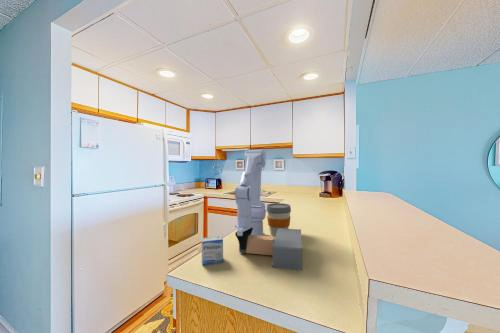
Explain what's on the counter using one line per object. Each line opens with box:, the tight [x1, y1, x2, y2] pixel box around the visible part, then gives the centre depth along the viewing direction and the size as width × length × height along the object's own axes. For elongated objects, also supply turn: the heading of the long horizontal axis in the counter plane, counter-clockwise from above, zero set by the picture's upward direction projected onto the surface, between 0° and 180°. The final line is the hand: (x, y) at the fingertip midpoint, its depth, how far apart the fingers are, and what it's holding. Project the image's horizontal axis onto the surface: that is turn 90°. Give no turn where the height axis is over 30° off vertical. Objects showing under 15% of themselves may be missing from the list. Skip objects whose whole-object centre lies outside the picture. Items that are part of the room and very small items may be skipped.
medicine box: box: [200, 235, 224, 266], centre depth 76 cm, size 8×4×9 cm, turn 105°
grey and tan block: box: [238, 235, 275, 256], centre depth 83 cm, size 4×14×6 cm, turn 77°
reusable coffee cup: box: [266, 202, 292, 238], centre depth 104 cm, size 13×13×15 cm
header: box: [272, 228, 303, 271], centre depth 80 cm, size 20×10×8 cm, turn 166°
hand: (244, 247), depth 84 cm, fingers closed on grey and tan block, 4 cm apart
